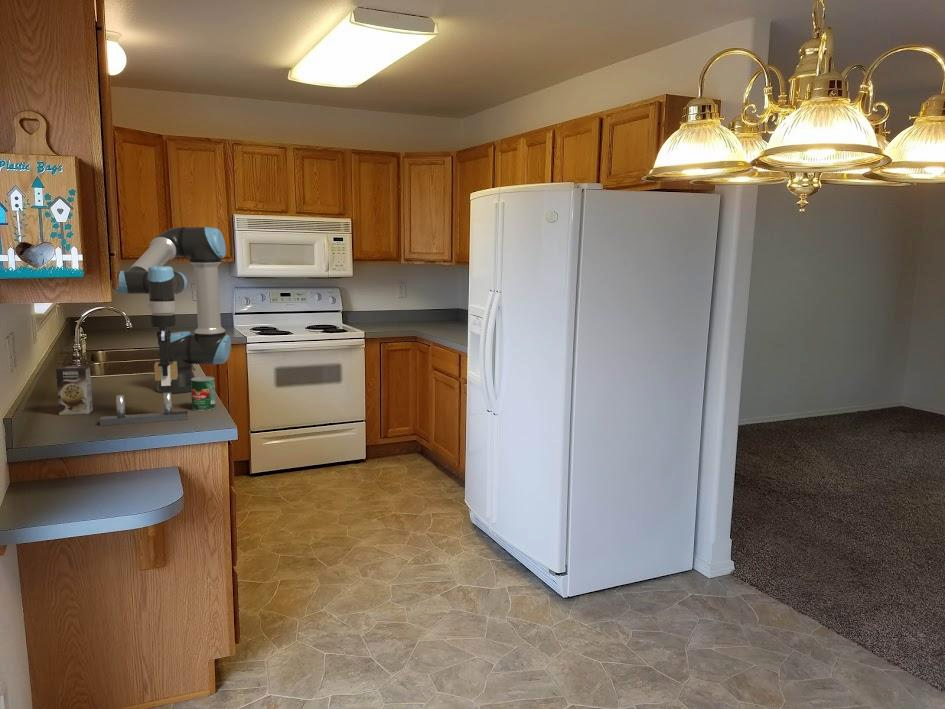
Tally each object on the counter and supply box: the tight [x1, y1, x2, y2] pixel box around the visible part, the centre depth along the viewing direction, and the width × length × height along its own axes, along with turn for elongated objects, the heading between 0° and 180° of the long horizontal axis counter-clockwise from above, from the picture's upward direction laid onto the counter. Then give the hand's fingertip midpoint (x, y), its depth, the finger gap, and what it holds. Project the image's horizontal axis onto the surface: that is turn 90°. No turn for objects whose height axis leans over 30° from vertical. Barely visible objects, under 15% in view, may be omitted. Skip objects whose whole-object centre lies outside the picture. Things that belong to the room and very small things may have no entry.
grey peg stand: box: [99, 392, 189, 427], centre depth 222 cm, size 4×26×9 cm, turn 111°
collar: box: [153, 361, 178, 382], centre depth 223 cm, size 6×6×5 cm
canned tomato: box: [191, 376, 217, 412], centre depth 240 cm, size 8×8×11 cm
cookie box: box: [55, 365, 94, 416], centre depth 232 cm, size 9×6×16 cm
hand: (166, 383), depth 223 cm, fingers closed on collar, 6 cm apart
